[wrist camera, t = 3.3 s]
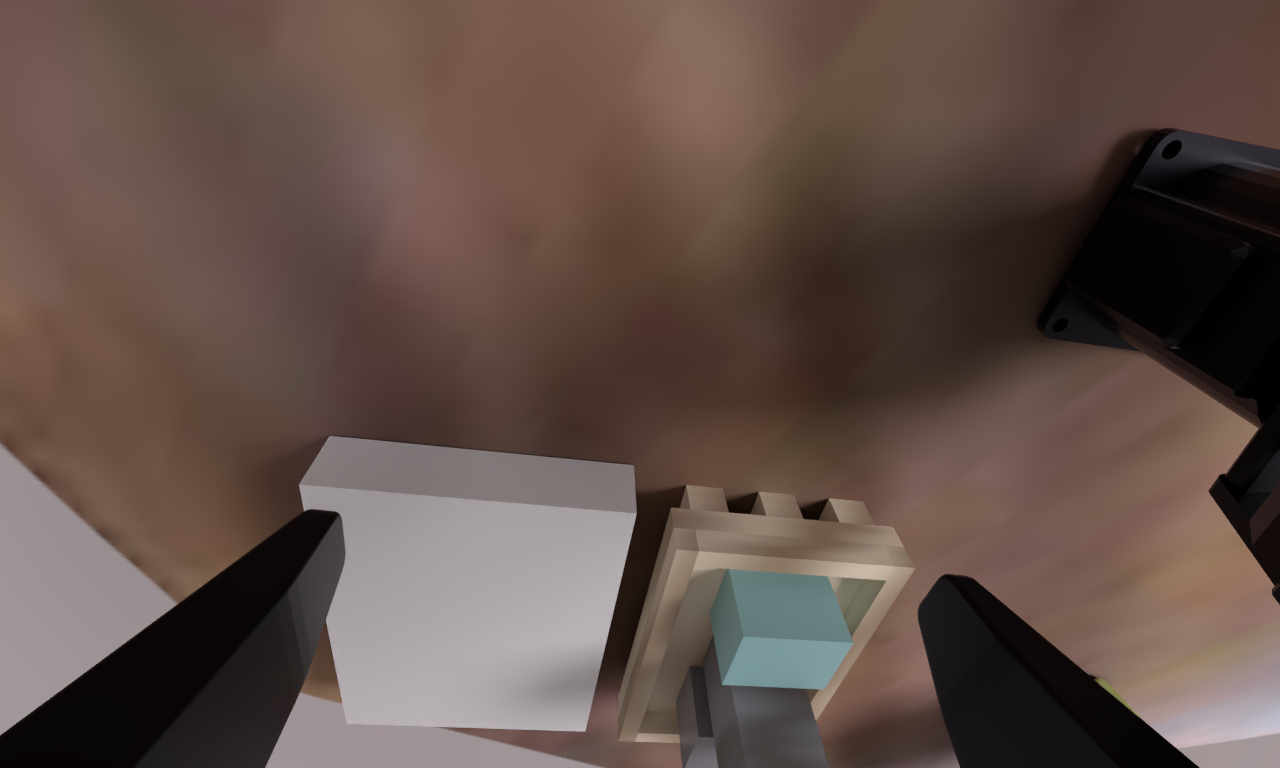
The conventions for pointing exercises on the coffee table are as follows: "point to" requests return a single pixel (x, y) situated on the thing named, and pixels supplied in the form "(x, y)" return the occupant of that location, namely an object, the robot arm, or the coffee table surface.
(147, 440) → the coffee table surface
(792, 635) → the teal block
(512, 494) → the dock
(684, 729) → the charcoal block
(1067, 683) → the robot arm
